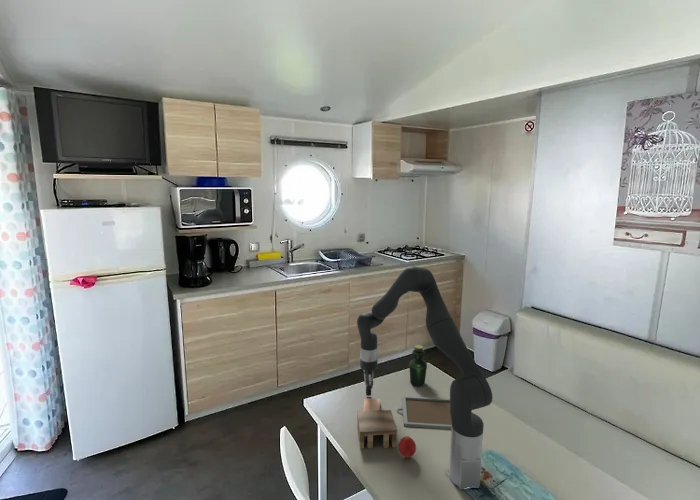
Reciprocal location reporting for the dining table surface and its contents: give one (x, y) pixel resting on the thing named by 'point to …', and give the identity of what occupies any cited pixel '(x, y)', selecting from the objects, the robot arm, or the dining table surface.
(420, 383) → the potion bottle
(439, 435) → the dining table surface
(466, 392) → the robot arm
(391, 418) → the cubby
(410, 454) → the onion
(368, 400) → the tile
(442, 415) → the grey framed board
